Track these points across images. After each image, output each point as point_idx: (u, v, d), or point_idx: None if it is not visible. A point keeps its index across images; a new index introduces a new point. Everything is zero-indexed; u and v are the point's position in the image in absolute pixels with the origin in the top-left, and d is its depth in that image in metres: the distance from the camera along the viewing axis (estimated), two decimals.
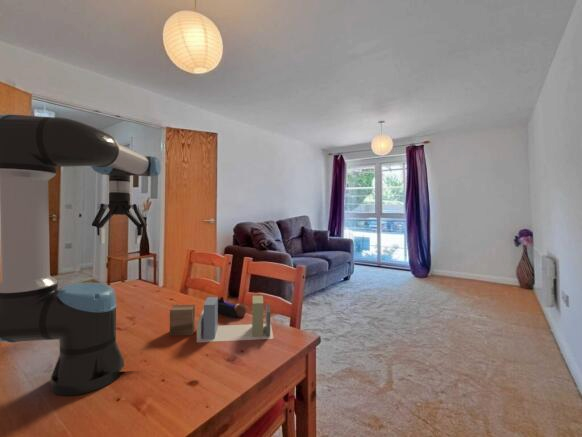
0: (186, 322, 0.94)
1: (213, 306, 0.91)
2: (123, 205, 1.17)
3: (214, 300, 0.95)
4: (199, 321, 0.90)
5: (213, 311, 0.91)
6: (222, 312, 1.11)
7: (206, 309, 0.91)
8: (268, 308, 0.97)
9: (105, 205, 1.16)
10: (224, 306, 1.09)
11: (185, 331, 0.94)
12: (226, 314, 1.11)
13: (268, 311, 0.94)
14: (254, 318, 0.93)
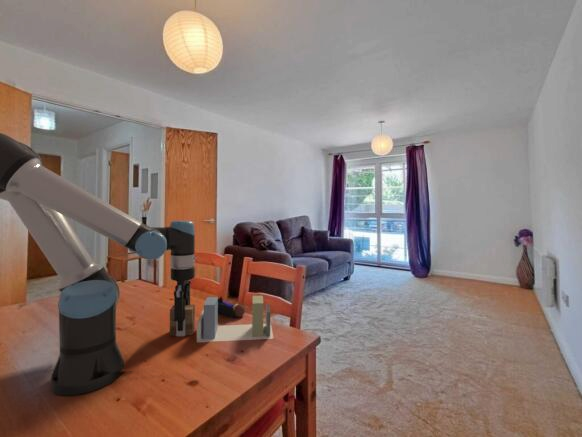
0: (186, 322, 0.94)
1: (213, 306, 0.91)
2: None
3: (214, 300, 0.95)
4: (199, 321, 0.90)
5: (213, 311, 0.91)
6: (221, 312, 1.11)
7: (206, 309, 0.91)
8: (268, 308, 0.97)
9: None
10: (223, 306, 1.09)
11: None
12: (224, 314, 1.11)
13: (268, 311, 0.94)
14: (254, 318, 0.93)
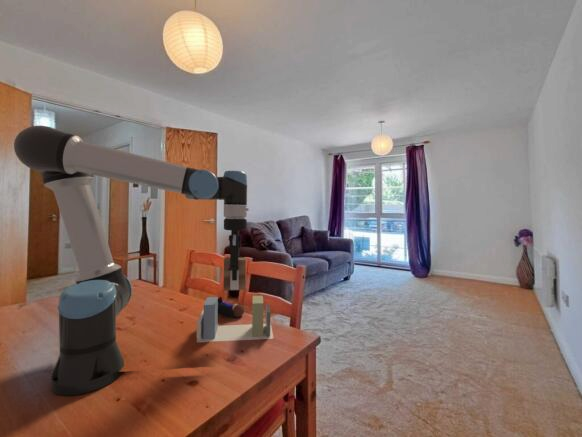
0: (240, 272, 0.94)
1: (213, 306, 0.91)
2: None
3: (214, 300, 0.95)
4: (199, 321, 0.90)
5: (213, 311, 0.91)
6: (221, 312, 1.11)
7: (206, 309, 0.91)
8: (268, 308, 0.97)
9: None
10: (222, 306, 1.09)
11: (239, 282, 0.94)
12: (224, 314, 1.11)
13: (268, 311, 0.94)
14: (254, 318, 0.93)
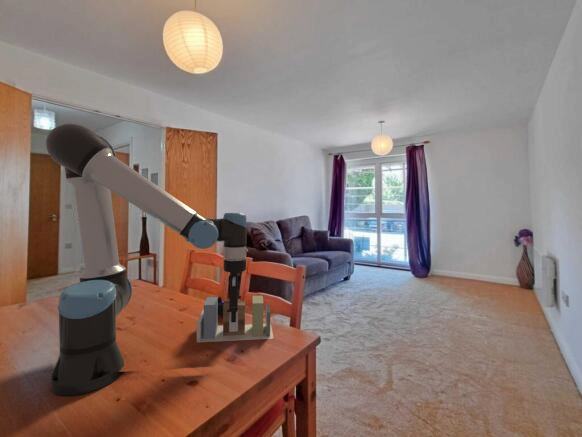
0: (239, 318, 0.94)
1: (213, 306, 0.91)
2: None
3: (214, 300, 0.95)
4: (199, 321, 0.90)
5: (213, 311, 0.91)
6: (220, 312, 1.11)
7: (206, 309, 0.91)
8: (268, 308, 0.97)
9: None
10: (221, 306, 1.09)
11: (238, 327, 0.94)
12: None
13: (268, 311, 0.94)
14: (254, 318, 0.93)
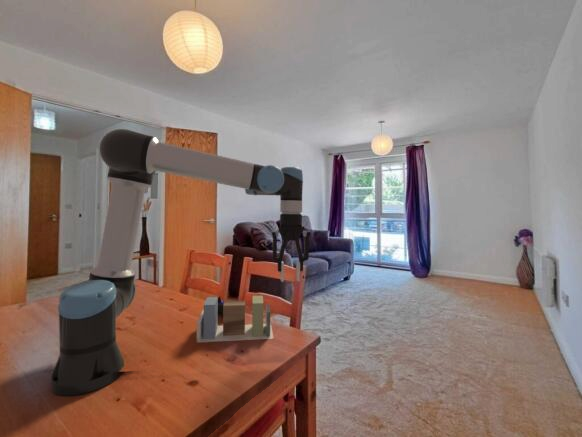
0: (239, 318, 0.94)
1: (213, 306, 0.91)
2: (297, 228, 0.97)
3: (214, 300, 0.95)
4: (199, 321, 0.90)
5: (213, 311, 0.91)
6: (219, 312, 1.11)
7: (206, 309, 0.91)
8: (268, 308, 0.97)
9: (276, 232, 0.97)
10: (220, 306, 1.09)
11: (238, 327, 0.94)
12: (222, 314, 1.11)
13: (268, 311, 0.94)
14: (254, 318, 0.93)
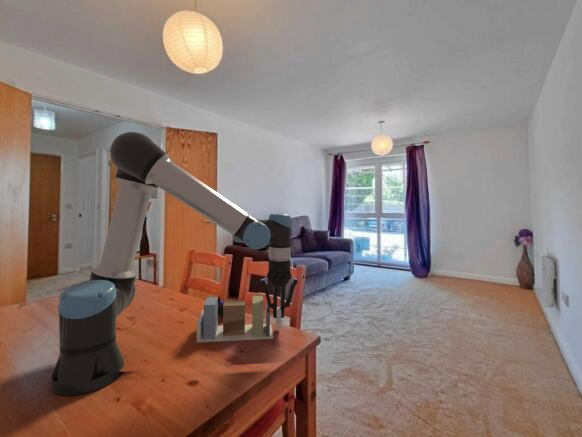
0: (239, 318, 0.94)
1: (213, 306, 0.91)
2: (286, 273, 0.97)
3: (214, 300, 0.95)
4: (199, 321, 0.90)
5: (213, 311, 0.91)
6: (218, 312, 1.11)
7: (206, 309, 0.91)
8: (268, 308, 0.97)
9: (265, 280, 0.97)
10: (219, 306, 1.09)
11: (238, 327, 0.94)
12: (221, 314, 1.11)
13: (268, 311, 0.94)
14: (254, 318, 0.93)
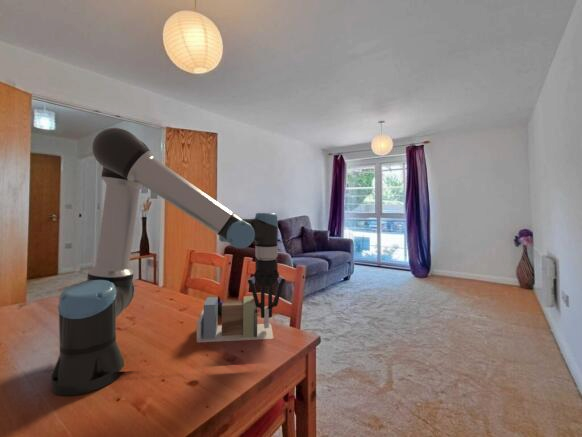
0: (238, 318, 0.94)
1: (213, 306, 0.91)
2: (273, 272, 0.96)
3: (214, 300, 0.95)
4: (199, 321, 0.90)
5: (213, 311, 0.91)
6: (218, 312, 1.11)
7: (206, 309, 0.91)
8: (255, 308, 0.96)
9: (252, 279, 0.96)
10: (219, 306, 1.09)
11: (237, 327, 0.94)
12: (221, 314, 1.11)
13: (255, 311, 0.93)
14: (245, 318, 0.93)
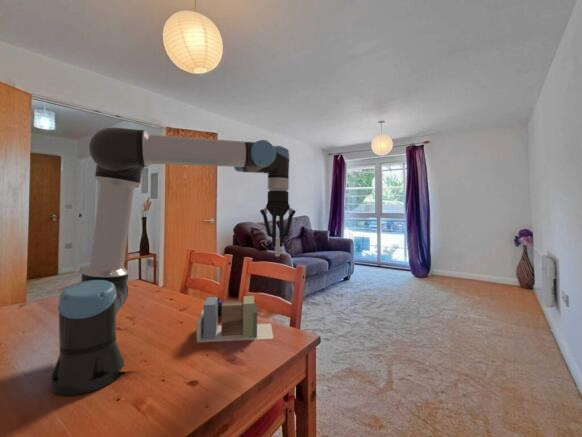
0: (238, 318, 0.94)
1: (213, 306, 0.91)
2: (284, 204, 1.02)
3: (214, 300, 0.95)
4: (199, 321, 0.90)
5: (213, 311, 0.91)
6: None
7: (206, 309, 0.91)
8: (255, 308, 0.96)
9: (264, 209, 1.02)
10: None
11: (236, 327, 0.94)
12: (219, 313, 1.11)
13: (255, 311, 0.93)
14: (244, 318, 0.93)
